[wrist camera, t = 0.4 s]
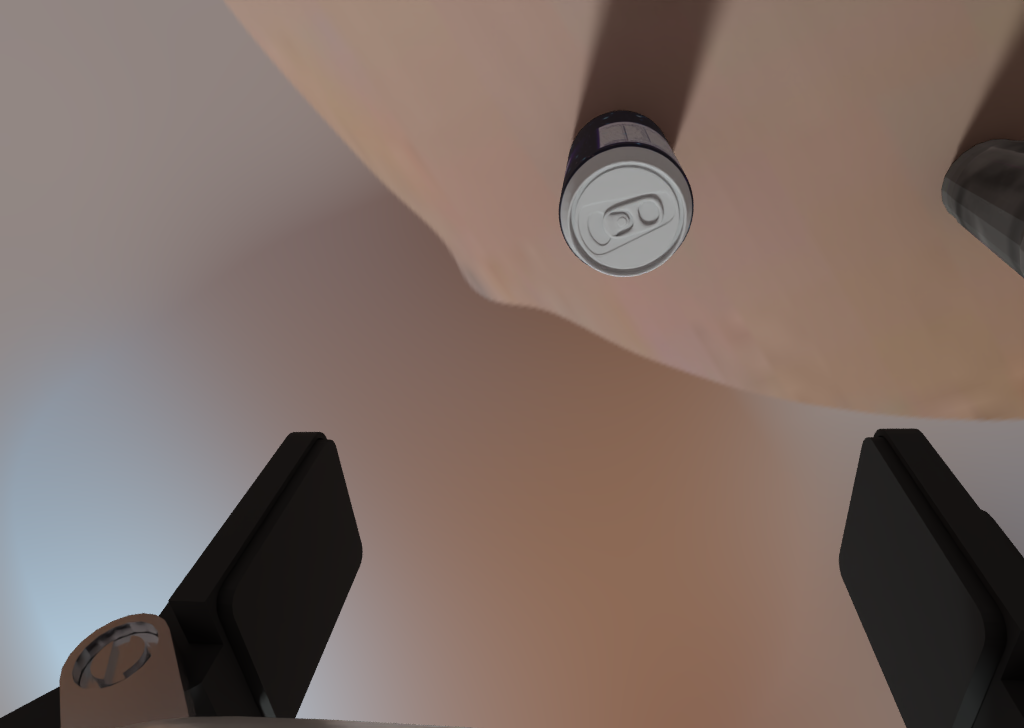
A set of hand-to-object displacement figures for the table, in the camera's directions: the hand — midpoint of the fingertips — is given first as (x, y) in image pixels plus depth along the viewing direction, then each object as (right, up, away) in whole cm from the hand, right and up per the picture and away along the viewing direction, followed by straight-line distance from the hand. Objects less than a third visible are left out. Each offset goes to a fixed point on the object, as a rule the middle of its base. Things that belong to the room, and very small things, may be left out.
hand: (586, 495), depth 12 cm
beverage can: (+5, +14, +25) cm, 29 cm away
